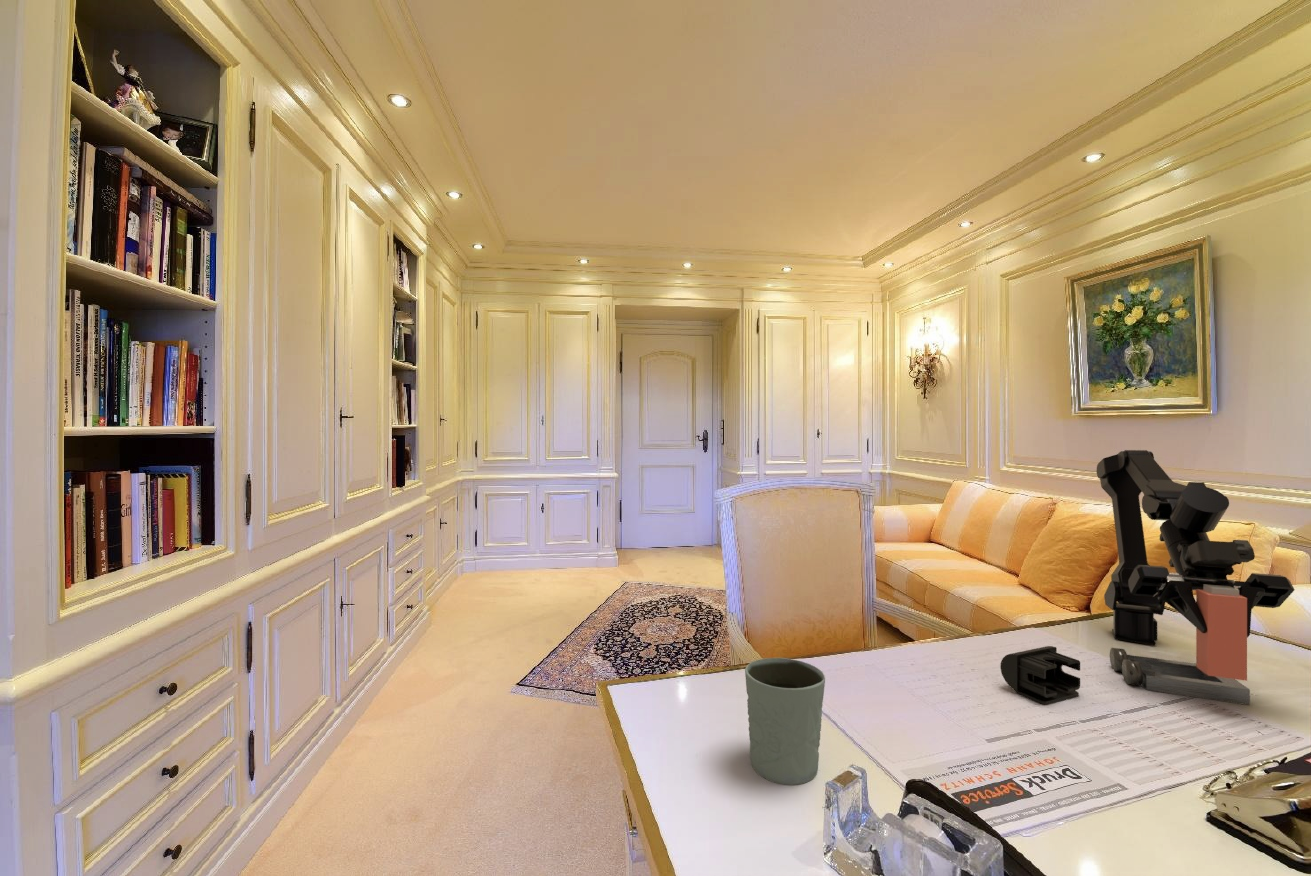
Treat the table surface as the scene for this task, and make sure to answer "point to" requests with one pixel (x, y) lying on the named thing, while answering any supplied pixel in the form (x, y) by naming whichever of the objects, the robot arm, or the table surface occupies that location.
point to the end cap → (1041, 675)
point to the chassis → (1177, 678)
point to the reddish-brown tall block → (1222, 632)
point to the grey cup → (784, 718)
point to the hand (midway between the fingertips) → (1225, 634)
